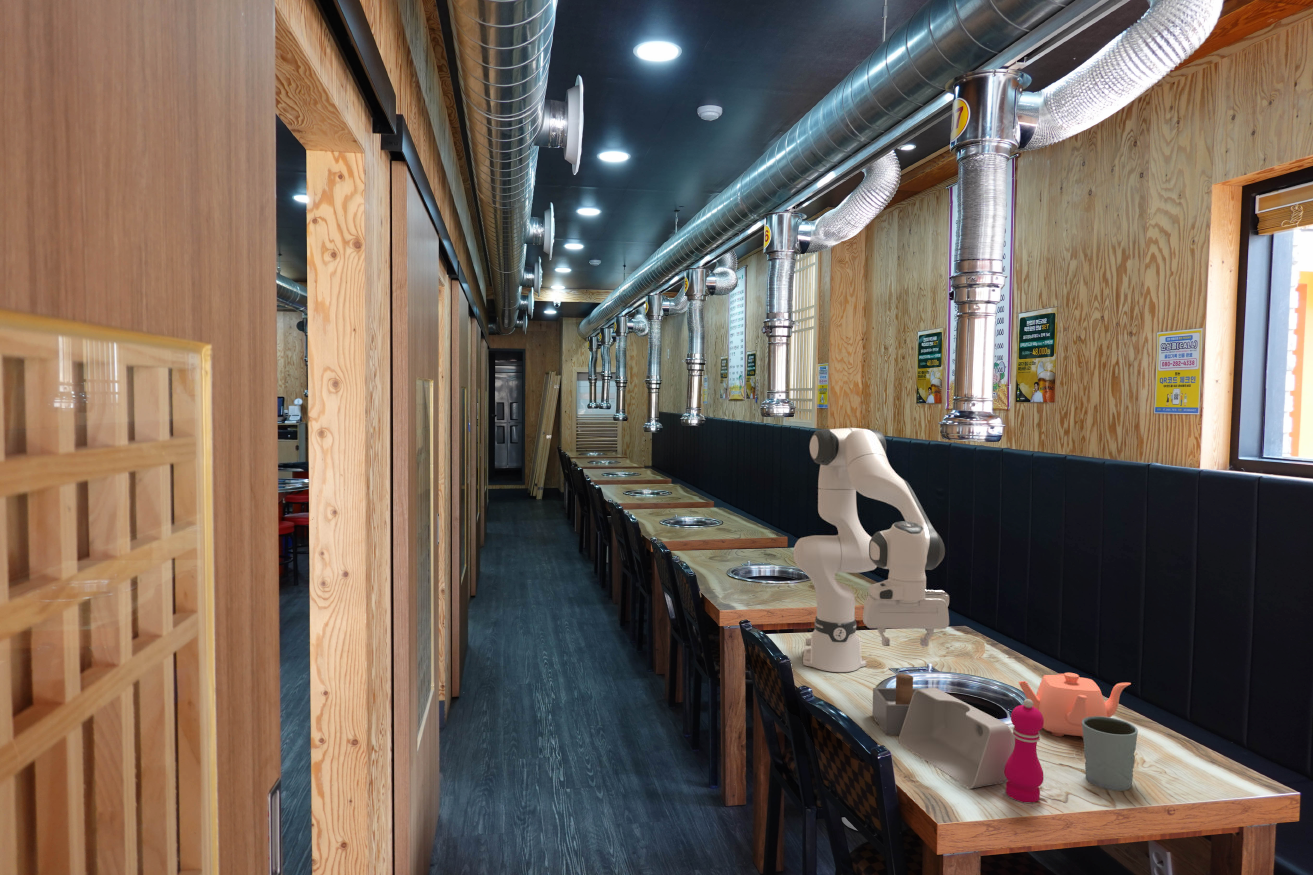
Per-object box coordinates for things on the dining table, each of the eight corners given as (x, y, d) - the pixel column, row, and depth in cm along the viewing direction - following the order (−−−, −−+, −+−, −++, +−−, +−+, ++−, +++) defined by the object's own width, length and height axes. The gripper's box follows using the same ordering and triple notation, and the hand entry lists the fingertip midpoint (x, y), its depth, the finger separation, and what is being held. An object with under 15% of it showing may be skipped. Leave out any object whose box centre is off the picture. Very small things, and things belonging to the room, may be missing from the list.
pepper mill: (1041, 808, 161) (1047, 709, 159) (1001, 798, 164) (1007, 701, 162) (1043, 791, 167) (1049, 696, 165) (1004, 782, 170) (1010, 689, 168)
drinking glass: (1147, 790, 168) (1149, 732, 168) (1104, 794, 166) (1106, 736, 166) (1110, 768, 178) (1112, 713, 178) (1069, 772, 176) (1071, 717, 176)
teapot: (1130, 736, 196) (1132, 679, 195) (1082, 752, 186) (1085, 692, 186) (1059, 711, 211) (1061, 658, 211) (1012, 724, 202) (1014, 669, 201)
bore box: (872, 715, 207) (873, 687, 207) (920, 715, 207) (920, 688, 207) (885, 734, 195) (886, 705, 195) (936, 734, 195) (937, 705, 195)
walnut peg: (892, 721, 203) (894, 673, 203) (909, 721, 203) (910, 673, 203) (897, 727, 199) (898, 679, 199) (914, 728, 199) (915, 679, 199)
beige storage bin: (1034, 779, 173) (1036, 721, 172) (972, 791, 168) (974, 730, 167) (953, 733, 196) (955, 682, 196) (897, 742, 191) (898, 689, 190)
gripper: (944, 586, 203) (943, 641, 204) (862, 586, 203) (860, 641, 204) (954, 593, 197) (952, 650, 197) (868, 592, 196) (867, 649, 197)
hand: (904, 645), depth 201 cm, fingers open, 8 cm apart
